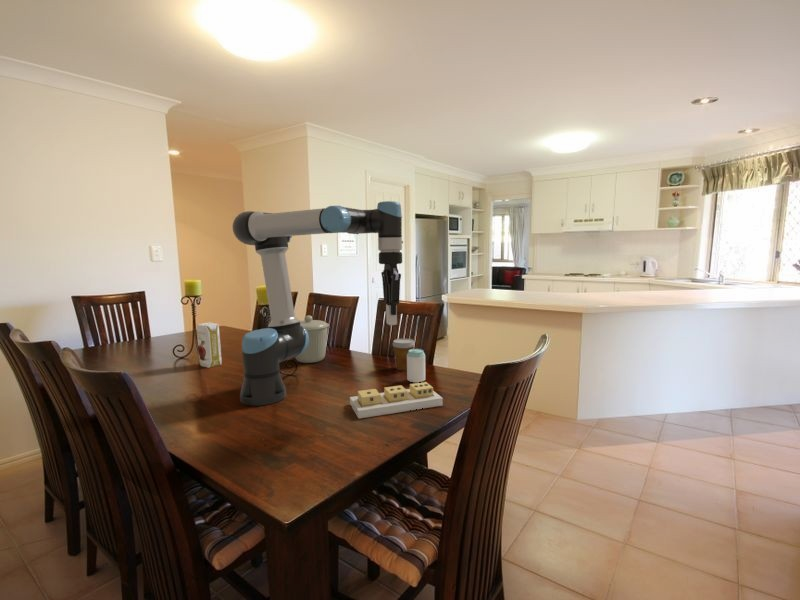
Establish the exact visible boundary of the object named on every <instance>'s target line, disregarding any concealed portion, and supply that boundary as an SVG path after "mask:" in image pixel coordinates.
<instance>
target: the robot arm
mask: <svg viewBox="0 0 800 600" xmlns="http://www.w3.org/2000/svg"><path fill="white" fill-rule="evenodd" d="M376 207H377V208H374V209H358V208H352V207H344V206H341V205H329V206H327V207H322V208H313V209H302V210H294V211H293V210H292V211H283V212H262V211H251V210H248V211H242V212H241V213H239V214H238V215H237V216H235V217H234V220H233V223H232V232H233V234H234V237H235V238H236V239H237V240H238V241H239V242H241V243H242V244H244V245H248V246H254V248H255V253H257V254H258V255H259V256H260V259H261V265H262V271H263V277H264V282H265V283H264V284H265V289H266V296H267V301H268V309H269V314H270V315H269V316H270V322H269V323H268V325H267V328H260V329H254V330H251V331H249V332H247V333H245V334H244V336H242V340H241V352H242V353H241V354H242V364H243V374H244V375H243V377H244V378H243V382H242V385H241V389H240V393H239V401H240V403H241V404H243V405H246V406H252V407H253V406H254V407H258V406H265V405H271V404H275V403H277V402H280V401H282V400H284V399H285V398H286V396H287V390H286V386H285V383H284V381H283V379H282V376H281V374H280V363H282V362H284V361H287V360H290V359H293V358H295V357H296V356H298V355H299V354H301V353H303V352H304V351H305V350H306V348H307V346H308V343H309V336H308V332H307V330H306V329H304V327H303V326H301V325H300V321H301V320H300V319H299V318H297V317H296V315H295V309H294V308H295V307H294V302H293V294H292V290H291V288H292V287H291V283H290V278H289V277H290V276H289V270H288V264H287V259H286V252H287V251H288V250H289V243H290V242H291V241H292V240H291V238H292V237H295V236H306V235H307V236H309V235H322V234H323V235H324V234H336V233H337V234H340V233H343V234H344V233H347V234H349V235H350V234H351V235H360V234H362V235H363V234H377V237H378V238H377V243H378V244H377V245H378V247H377V249H378V251H379V253H378V263H379V265H384V266H383V271H381V272H380V273H381V279H382V281H381V282H382V292H383V295H382V296H383V301H384V302H385V304H386V305H385V317H386V320H385V321H386V325H388V326H396V325H398V304H400V296H401V295H400V292H401V278H402V274H401V273H399V269H398V265H400V264H403V253H402V252H401V251H402V250H403V243H404V241H403V239H402V238H403V235H402V234H403V233H402V231H403V230H402V228H403V227H402V226H403V224H402V223H403V222H402V221H403V219H402V218H403V215H402V206H401V203H400V202H398V201H392V200H391V201H390V200H389V201H388V200H387V201H386V200H385V201H379V202H378V203H377V205H376Z"/></svg>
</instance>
